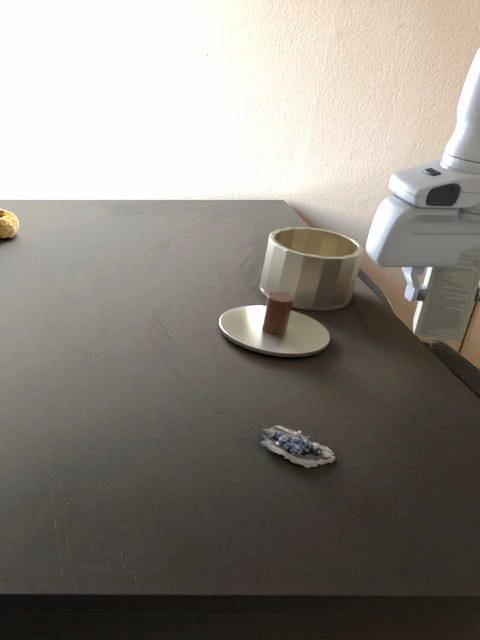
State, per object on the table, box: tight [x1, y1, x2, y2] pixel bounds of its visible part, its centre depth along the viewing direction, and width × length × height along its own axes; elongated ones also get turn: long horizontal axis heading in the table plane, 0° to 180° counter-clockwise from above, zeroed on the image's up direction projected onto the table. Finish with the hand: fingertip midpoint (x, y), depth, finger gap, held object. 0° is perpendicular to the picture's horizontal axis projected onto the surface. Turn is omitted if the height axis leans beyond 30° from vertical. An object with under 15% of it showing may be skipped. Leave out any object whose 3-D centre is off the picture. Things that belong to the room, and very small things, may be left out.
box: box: [412, 250, 480, 343], centre depth 86 cm, size 5×4×11 cm
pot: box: [259, 226, 365, 312], centre depth 116 cm, size 14×14×8 cm
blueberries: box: [259, 425, 337, 469], centre depth 80 cm, size 7×8×2 cm
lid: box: [218, 292, 331, 358], centre depth 103 cm, size 15×15×6 cm
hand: (444, 299), depth 86 cm, fingers closed on box, 6 cm apart
